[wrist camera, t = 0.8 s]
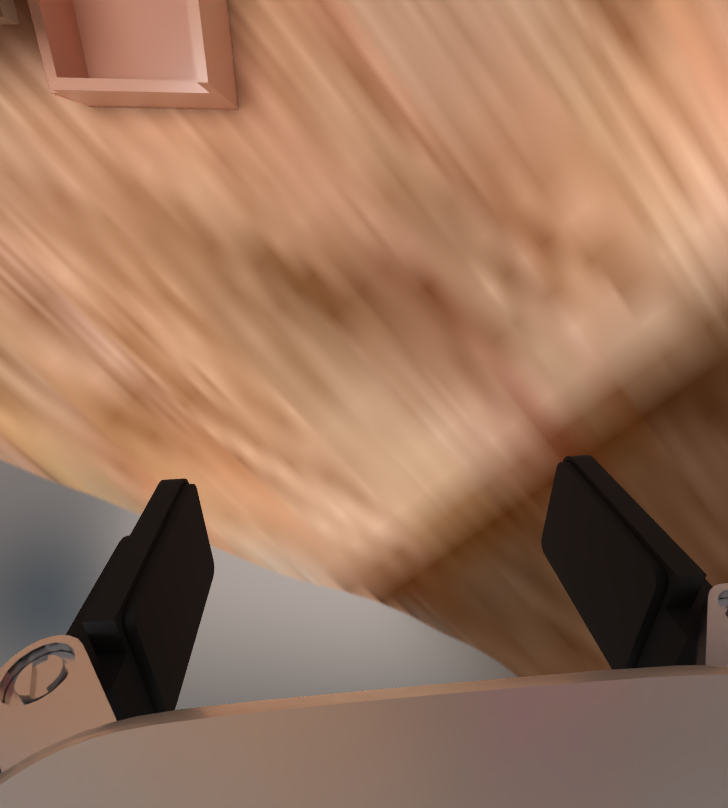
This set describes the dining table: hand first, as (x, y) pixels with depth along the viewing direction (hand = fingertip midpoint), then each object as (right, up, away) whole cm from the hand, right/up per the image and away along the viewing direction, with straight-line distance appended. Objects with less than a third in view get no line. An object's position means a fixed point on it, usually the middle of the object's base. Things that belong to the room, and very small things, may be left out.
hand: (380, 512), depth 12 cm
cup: (-14, +28, +18) cm, 36 cm away
